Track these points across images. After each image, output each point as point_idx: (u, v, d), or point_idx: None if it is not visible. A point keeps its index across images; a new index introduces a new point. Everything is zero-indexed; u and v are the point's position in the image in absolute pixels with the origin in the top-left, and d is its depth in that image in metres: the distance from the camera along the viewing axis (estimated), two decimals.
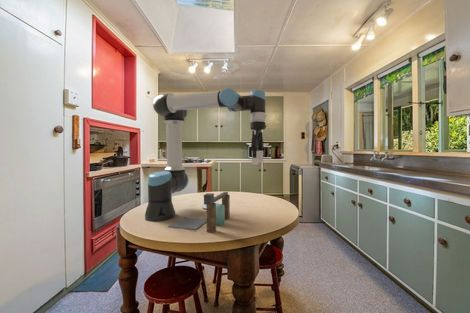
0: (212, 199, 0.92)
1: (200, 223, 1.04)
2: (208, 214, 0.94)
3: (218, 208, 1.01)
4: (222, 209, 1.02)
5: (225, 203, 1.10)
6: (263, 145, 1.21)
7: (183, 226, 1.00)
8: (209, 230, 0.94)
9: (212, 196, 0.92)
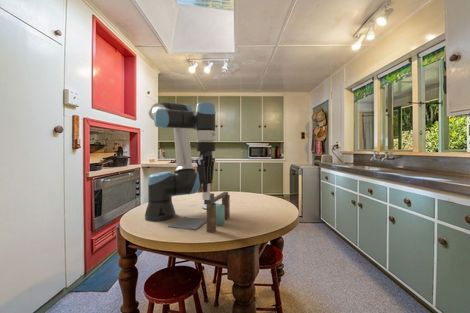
0: (212, 199, 0.93)
1: (200, 223, 1.04)
2: (208, 214, 0.94)
3: (218, 208, 1.01)
4: (222, 209, 1.02)
5: (225, 203, 1.10)
6: (212, 176, 0.93)
7: (183, 226, 1.00)
8: (209, 230, 0.94)
9: (212, 196, 0.93)
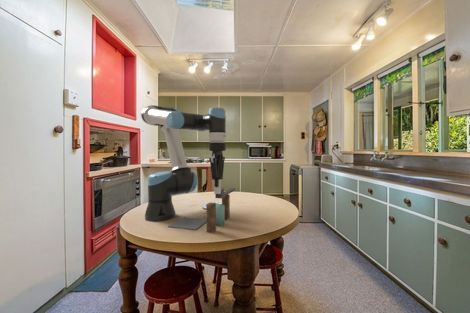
0: (222, 193, 1.04)
1: (200, 223, 1.04)
2: (208, 214, 0.94)
3: (218, 208, 1.01)
4: (222, 209, 1.02)
5: (225, 203, 1.10)
6: None
7: (183, 226, 1.00)
8: (209, 230, 0.94)
9: (222, 191, 1.04)
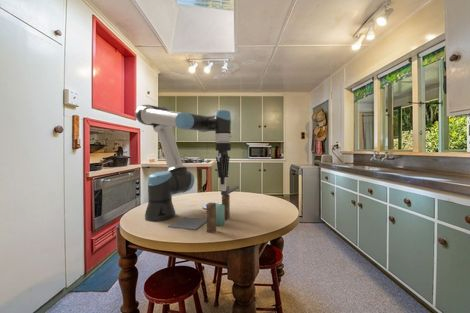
0: (228, 190, 1.11)
1: (200, 223, 1.04)
2: (208, 214, 0.94)
3: (218, 208, 1.01)
4: (222, 209, 1.02)
5: (225, 203, 1.10)
6: None
7: (183, 226, 1.00)
8: (209, 230, 0.94)
9: (228, 188, 1.11)
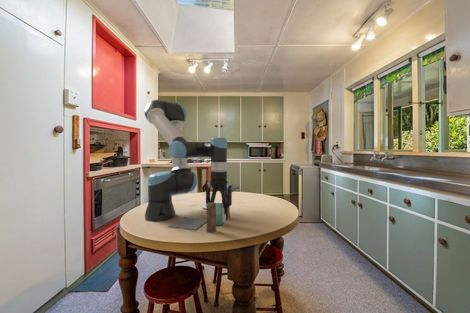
0: None
1: (200, 223, 1.04)
2: (208, 214, 0.94)
3: (217, 207, 1.01)
4: None
5: None
6: (229, 202, 1.01)
7: (183, 226, 1.00)
8: (209, 230, 0.94)
9: None
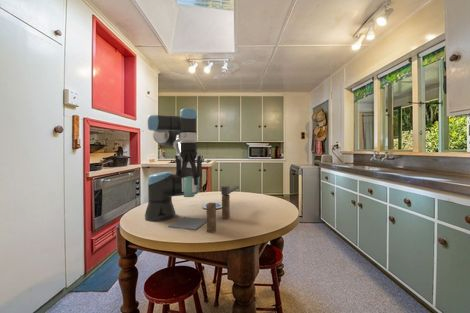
0: (228, 190, 1.11)
1: (200, 223, 1.04)
2: (208, 214, 0.94)
3: (187, 179, 1.02)
4: (191, 180, 1.03)
5: (225, 203, 1.10)
6: (199, 172, 1.01)
7: (183, 226, 1.00)
8: (209, 230, 0.94)
9: (228, 188, 1.11)
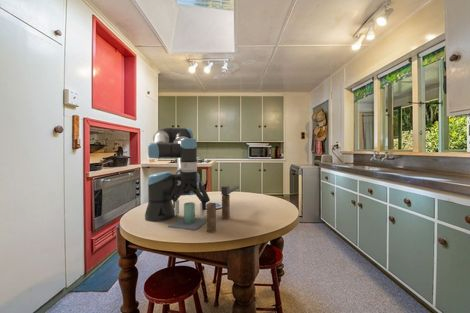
0: (228, 190, 1.11)
1: (200, 223, 1.04)
2: (208, 214, 0.94)
3: (187, 206, 1.02)
4: (192, 207, 1.03)
5: (225, 203, 1.10)
6: (205, 197, 1.01)
7: (183, 226, 1.00)
8: (209, 230, 0.94)
9: (228, 188, 1.11)
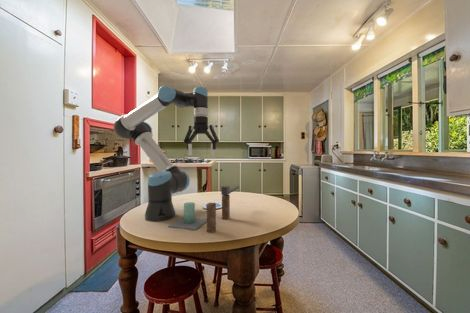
0: (228, 190, 1.11)
1: (200, 223, 1.04)
2: (208, 214, 0.94)
3: (187, 206, 1.02)
4: (192, 207, 1.03)
5: (225, 203, 1.10)
6: (215, 138, 1.17)
7: (183, 226, 1.00)
8: (209, 230, 0.94)
9: (228, 188, 1.11)
